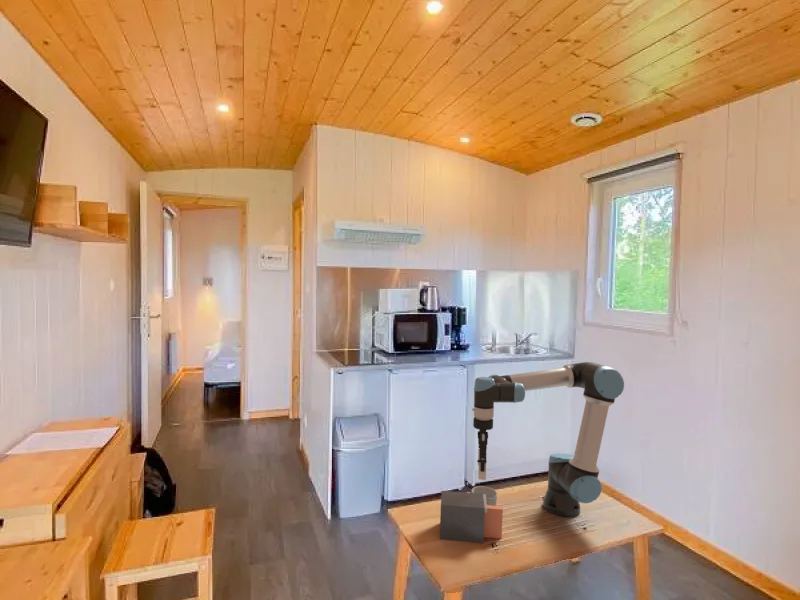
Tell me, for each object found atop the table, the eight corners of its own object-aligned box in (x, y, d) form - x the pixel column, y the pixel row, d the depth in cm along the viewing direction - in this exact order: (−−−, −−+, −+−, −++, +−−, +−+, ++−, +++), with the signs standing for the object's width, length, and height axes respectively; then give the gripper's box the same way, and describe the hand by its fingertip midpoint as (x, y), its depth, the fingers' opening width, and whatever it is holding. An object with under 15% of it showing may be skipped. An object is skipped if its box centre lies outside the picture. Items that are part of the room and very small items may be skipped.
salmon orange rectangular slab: (501, 534, 176) (502, 506, 176) (501, 538, 174) (502, 509, 173) (469, 531, 177) (470, 503, 177) (469, 535, 175) (470, 506, 175)
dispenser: (484, 526, 181) (485, 494, 181) (486, 543, 170) (487, 508, 169) (440, 522, 183) (441, 490, 183) (439, 539, 172) (440, 504, 171)
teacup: (495, 505, 200) (495, 486, 200) (498, 517, 189) (498, 498, 189) (462, 502, 202) (463, 484, 201) (463, 514, 191) (464, 495, 191)
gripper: (473, 408, 192) (471, 459, 192) (473, 426, 167) (471, 484, 168) (491, 410, 191) (490, 461, 191) (494, 427, 166) (492, 486, 166)
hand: (481, 472), depth 179 cm, fingers open, 13 cm apart
